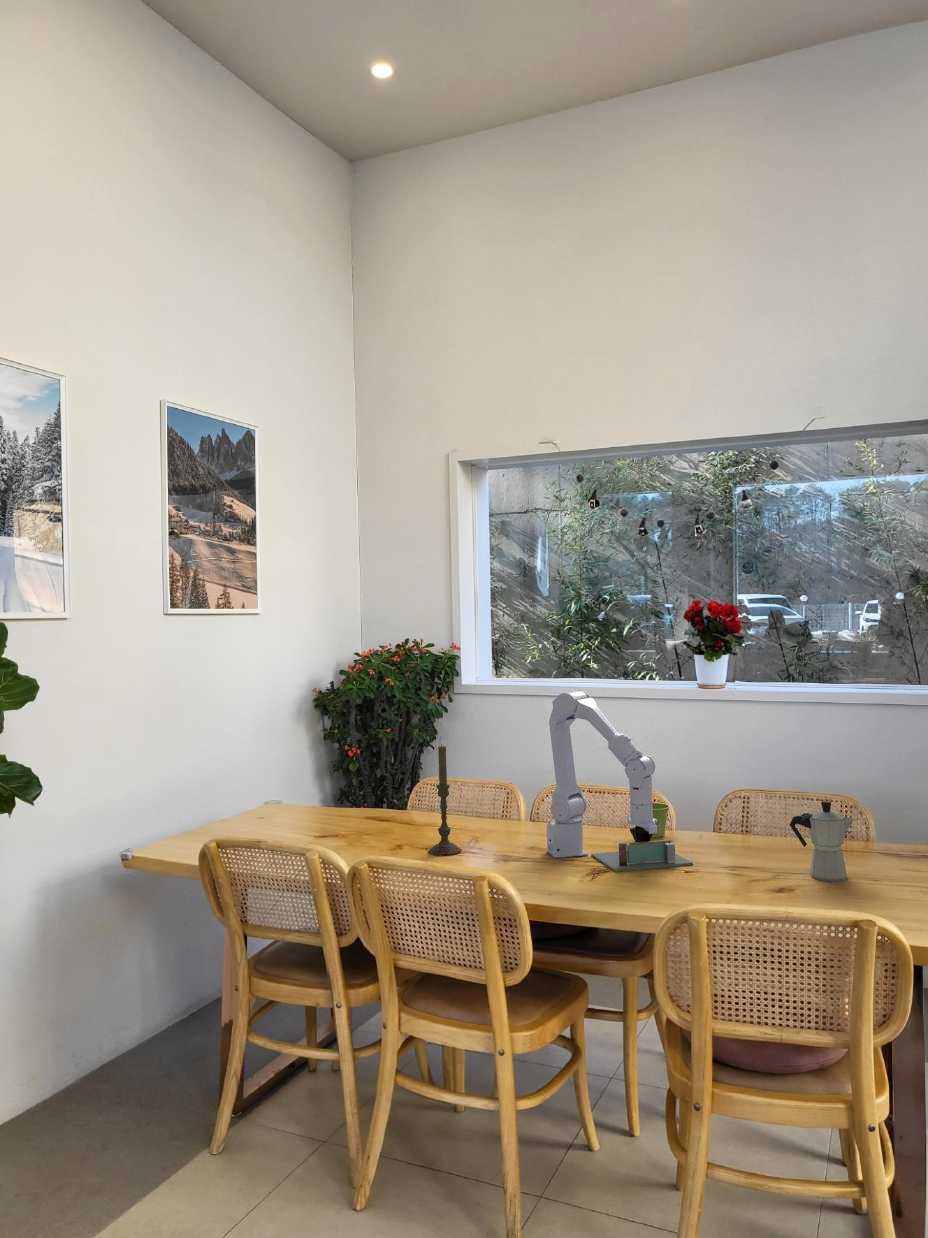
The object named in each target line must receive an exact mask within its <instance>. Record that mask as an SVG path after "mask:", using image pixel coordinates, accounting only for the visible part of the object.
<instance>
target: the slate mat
mask: <svg viewBox="0 0 928 1238" xmlns="http://www.w3.org/2000/svg"><path fill="white" fill-rule="evenodd" d="M591 857H592V858H594V859H595V860H597V861H599V863H601V864H602V865H604V866H605V867H606V868H609V869H610V870H612V871H613V872H615V873H619V872H628V871H629V872H631V871H632V872H633V871H640V870H642V871H643V870H652V869H653V870H655V869H661V868H664V869H665V868H673V867H675V868H676V867H685V866H686V867H688V866H693V864H694V863H693V862H692V861H690V860H688V859H686V858H685V857H683V856H681V855H679V854H678V853H675V864H667V863H665V861H654V862H642V863H630V864H629V863H627V866H620V865H619V850H618V851H610V852H609V851H608V852H607V851H606V852H597V853H591Z"/></svg>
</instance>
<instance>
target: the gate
mask: <svg viewBox="0 0 928 1238" xmlns="http://www.w3.org/2000/svg"><path fill="white" fill-rule="evenodd" d="M664 843H673V841H672V840H671V839H659V840H650V841H646V842H635V841H634V842H628V844H627V863H629V864H630V863H642V862H654V861H665V856H664ZM673 844H674V843H673Z"/></svg>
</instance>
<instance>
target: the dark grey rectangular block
mask: <svg viewBox="0 0 928 1238" xmlns="http://www.w3.org/2000/svg"><path fill="white" fill-rule="evenodd" d="M675 854H676V844H675V843H664V856H665V863H667V864H675Z"/></svg>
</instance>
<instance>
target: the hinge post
mask: <svg viewBox="0 0 928 1238" xmlns="http://www.w3.org/2000/svg"><path fill="white" fill-rule="evenodd" d="M627 845H628V844H627V843H626V842H619V843H618V851H619V865H620V866H627Z"/></svg>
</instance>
